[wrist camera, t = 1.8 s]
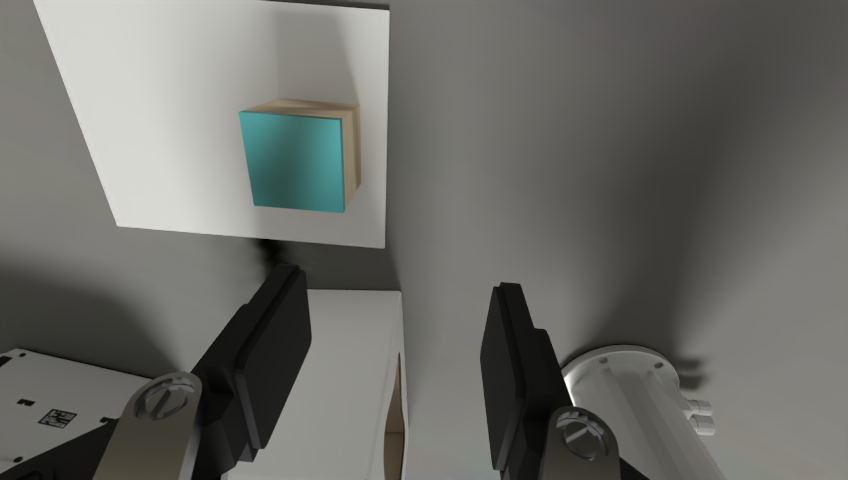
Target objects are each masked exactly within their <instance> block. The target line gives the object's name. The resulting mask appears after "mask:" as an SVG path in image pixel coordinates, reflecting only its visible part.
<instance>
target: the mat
mask: <svg viewBox="0 0 848 480" xmlns="http://www.w3.org/2000/svg"><path fill="white" fill-rule="evenodd" d="M33 1H34V3H35V6H36V9H37V12H38V14H39V17H40V20H41V22H42V25H43V28H44V30H45V33H46V36H47V38H48V41H49V44H50V46H51V49H52V52H53V54H54V57H55V60H56V63H57V65H58V68H59V71H60V73H61V76H62V79H63V81H64V84H65V87H66V89H67V92H68V95H69V97H70V100H71V103H72V105H73V108H74V111H75V113H76V116H77V119H78V122H79V124H80V127H81V130H82V132H83V135H84V138H85V140H86V143H87V146H88V148H89V151H90V154H91V156H92V159H93V162H94V164H95V167H96V170H97V173H98V175H99V178H100V181H101V183H102V186H103V189H104V191H105V194H106V197H107V199H108V202H109V205H110V207H111V210H112V213H113V215H114V218H115V221H116V223H117V226H122V227H133V228H145V229H157V230H169V231H181V232H193V233H204V234H216V235H228V236H240V237H252V238H264V239H275V240H287V241H299V242H311V243H323V244H335V245H346V246H358V247H370V248H382V249H385V221H386V173H387V126H388V79H389V31H390V11H388V10H376V9H363V8H350V7H338V6H325V5H312V4H300V3H287V2H274V1H262V0H33ZM278 98H282V99H294V100H307V101H319V102H331V103H344V104H356V105H360V129H361V184H360V186H359V187H358V189H357V191H356V192H355V194H354V196H353V198H352V199H351V201H350V203H349V204H348V206H347V208H346V209H345V211H344V213H335V212H323V211H311V210H299V209H287V208H275V207H263V206H254V203H253V197H252V191H251V185H250V179H249V173H248V167H247V161H246V155H245V149H244V143H243V137H242V131H241V125H240V119H239V113H238V112H240V111H243V110H246V109H249V108H252V107H254V106H257V105H260V104H263V103H266V102H269V101H272V100H275V99H278Z"/></svg>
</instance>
